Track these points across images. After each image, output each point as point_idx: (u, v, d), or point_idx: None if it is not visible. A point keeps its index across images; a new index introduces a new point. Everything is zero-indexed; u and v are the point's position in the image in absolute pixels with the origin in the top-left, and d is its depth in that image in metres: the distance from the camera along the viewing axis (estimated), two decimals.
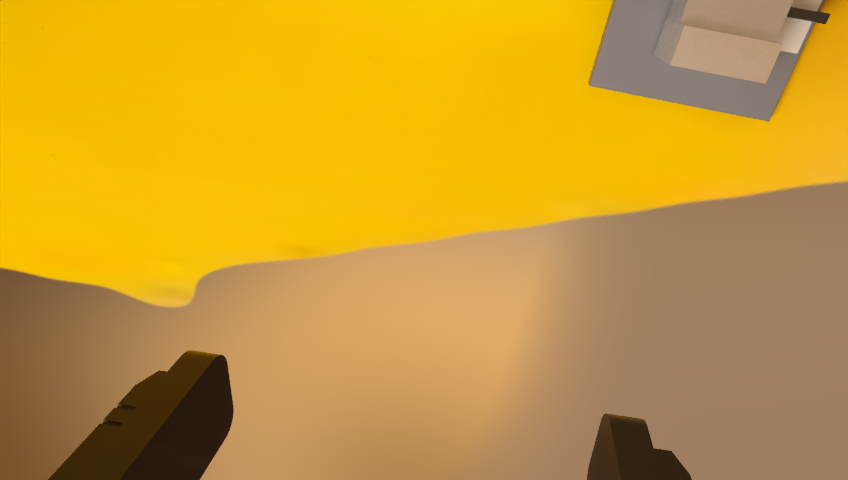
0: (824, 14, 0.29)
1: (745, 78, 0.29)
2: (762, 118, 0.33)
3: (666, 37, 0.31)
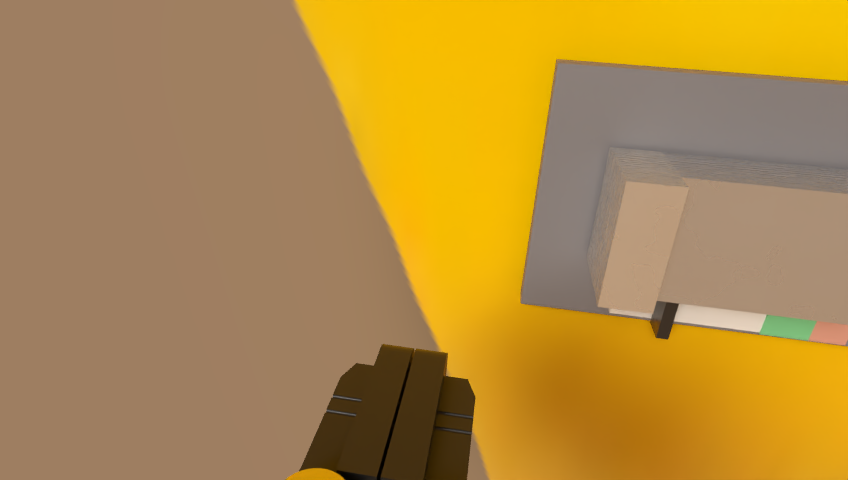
0: (667, 334, 0.23)
1: (604, 282, 0.20)
2: (523, 296, 0.26)
3: (646, 161, 0.20)
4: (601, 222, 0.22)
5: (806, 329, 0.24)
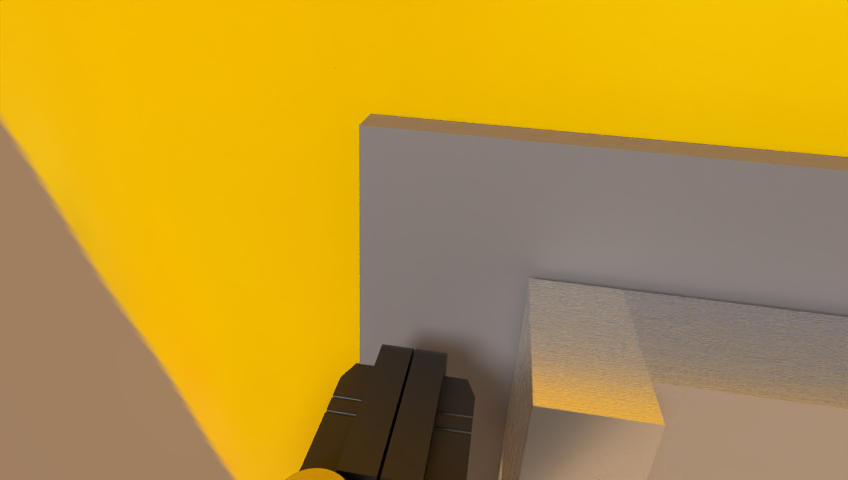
0: None
1: None
2: None
3: (589, 322, 0.11)
4: (513, 416, 0.12)
5: None
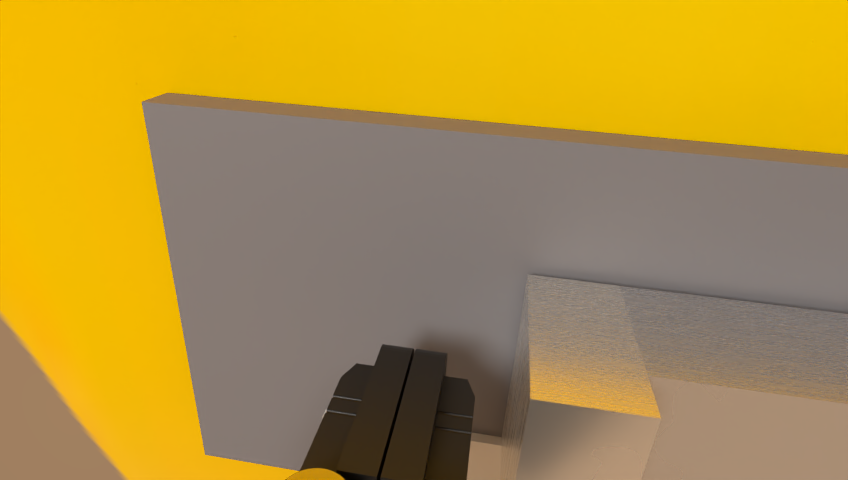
0: None
1: None
2: (206, 445, 0.17)
3: (586, 318, 0.11)
4: (511, 411, 0.12)
5: None
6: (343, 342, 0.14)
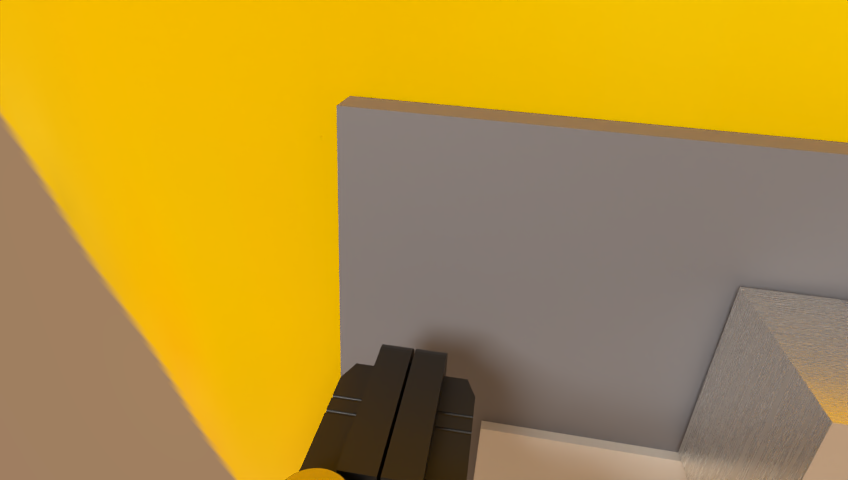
0: None
1: None
2: None
3: (830, 334, 0.10)
4: (725, 428, 0.12)
5: None
6: (513, 353, 0.14)
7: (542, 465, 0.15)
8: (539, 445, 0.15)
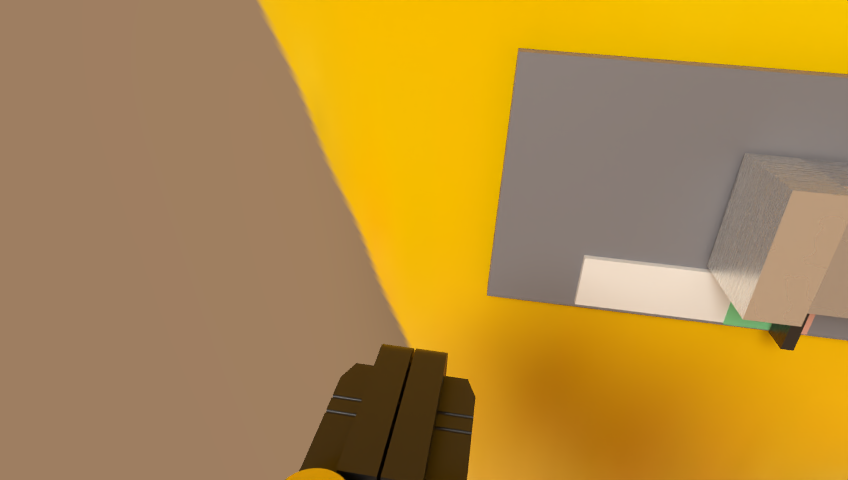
0: (794, 345, 0.23)
1: (754, 294, 0.19)
2: (490, 287, 0.26)
3: (794, 168, 0.20)
4: (737, 231, 0.21)
5: None
6: (608, 205, 0.23)
7: (622, 282, 0.24)
8: (621, 267, 0.24)
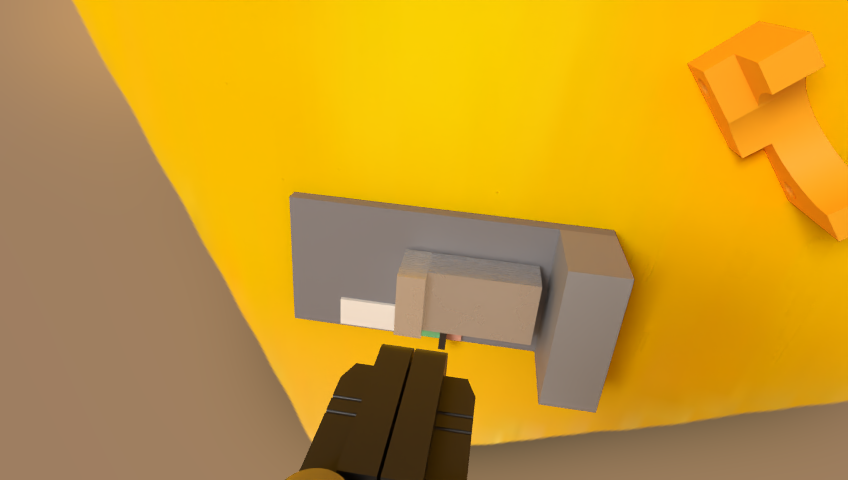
0: (443, 346, 0.43)
1: (395, 322, 0.39)
2: (295, 313, 0.46)
3: (418, 260, 0.40)
4: None
5: None
6: (348, 272, 0.43)
7: (362, 312, 0.44)
8: (360, 304, 0.44)
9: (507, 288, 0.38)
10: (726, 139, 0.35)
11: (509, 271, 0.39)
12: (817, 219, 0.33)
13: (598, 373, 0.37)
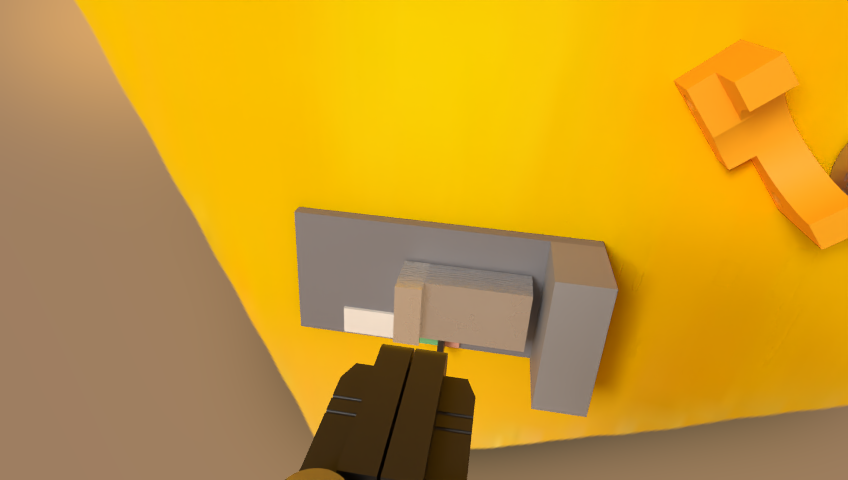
0: None
1: (394, 330, 0.41)
2: (302, 322, 0.48)
3: (416, 271, 0.42)
4: None
5: None
6: (350, 282, 0.45)
7: (364, 320, 0.46)
8: (362, 313, 0.46)
9: (499, 297, 0.40)
10: (714, 151, 0.37)
11: (502, 281, 0.41)
12: (802, 228, 0.34)
13: (587, 379, 0.39)
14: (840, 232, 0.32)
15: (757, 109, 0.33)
